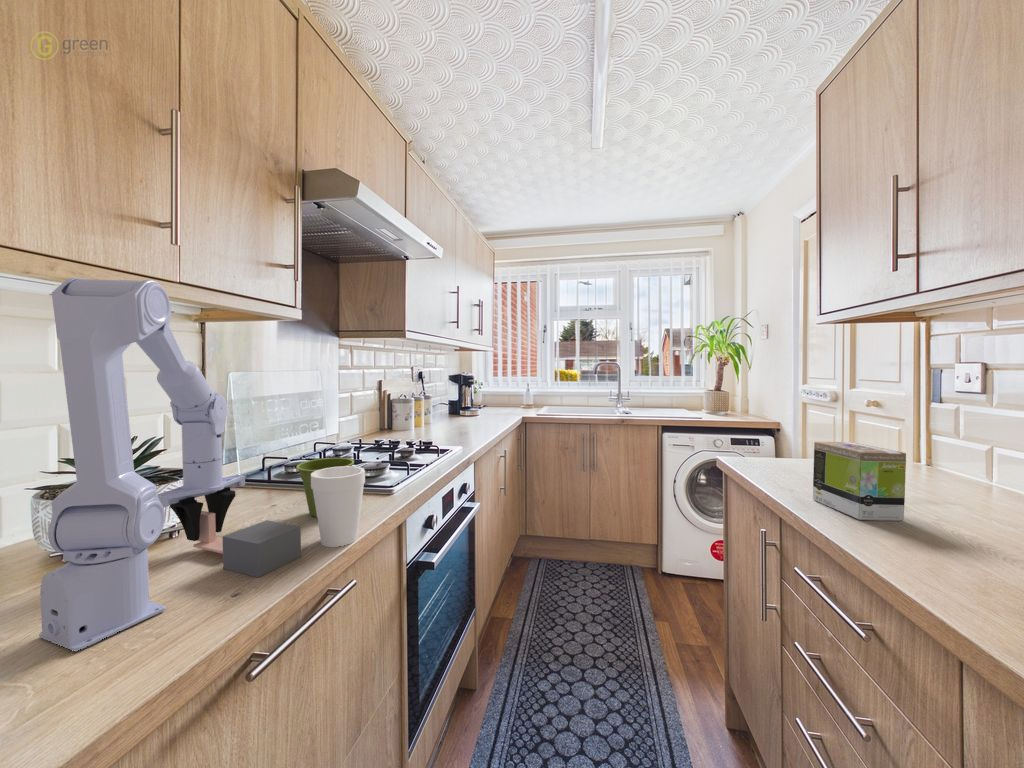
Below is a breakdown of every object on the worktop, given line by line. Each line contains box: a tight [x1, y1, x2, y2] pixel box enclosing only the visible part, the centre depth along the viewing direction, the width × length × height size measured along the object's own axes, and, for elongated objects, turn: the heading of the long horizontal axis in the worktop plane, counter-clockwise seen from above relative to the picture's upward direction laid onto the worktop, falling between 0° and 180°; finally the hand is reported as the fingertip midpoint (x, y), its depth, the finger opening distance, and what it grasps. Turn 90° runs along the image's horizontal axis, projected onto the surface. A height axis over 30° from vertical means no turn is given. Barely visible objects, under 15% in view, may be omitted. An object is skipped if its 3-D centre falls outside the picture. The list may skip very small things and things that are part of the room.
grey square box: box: [221, 519, 302, 578], centre depth 72 cm, size 8×8×5 cm
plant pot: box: [296, 457, 355, 518], centre depth 97 cm, size 12×12×11 cm
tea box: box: [812, 441, 907, 522], centre depth 99 cm, size 15×10×15 cm
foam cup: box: [311, 465, 366, 548], centre depth 81 cm, size 10×9×13 cm
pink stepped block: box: [192, 510, 223, 555], centre depth 76 cm, size 4×10×5 cm, turn 69°
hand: (204, 535), depth 77 cm, fingers open, 3 cm apart
